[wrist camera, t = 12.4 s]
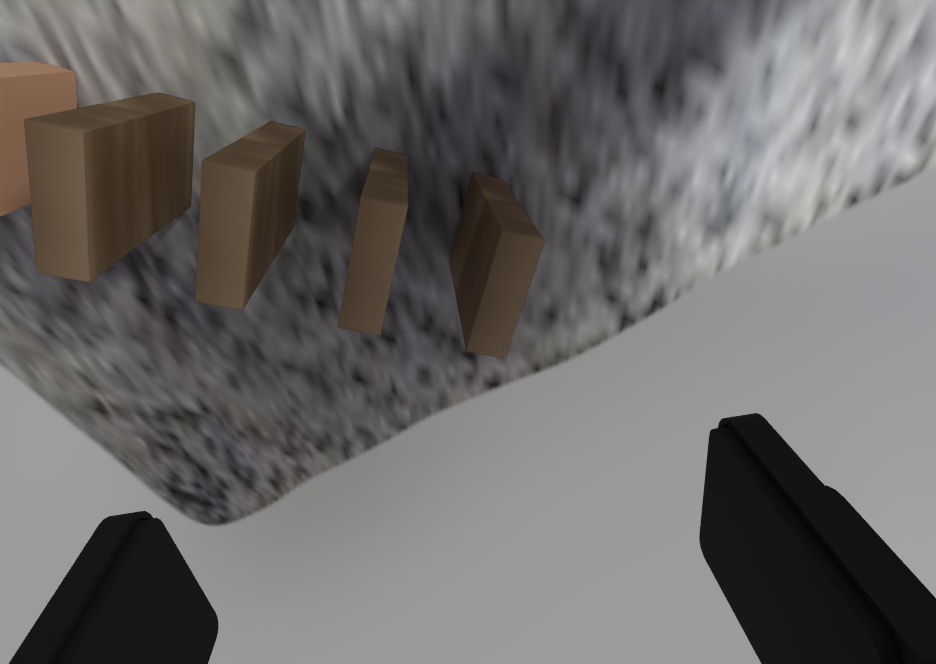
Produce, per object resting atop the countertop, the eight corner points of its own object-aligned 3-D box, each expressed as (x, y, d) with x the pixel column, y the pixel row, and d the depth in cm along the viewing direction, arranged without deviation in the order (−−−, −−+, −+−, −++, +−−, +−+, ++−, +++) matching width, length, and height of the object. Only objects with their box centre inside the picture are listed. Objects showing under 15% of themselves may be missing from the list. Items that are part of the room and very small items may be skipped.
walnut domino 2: (305, 129, 26) (255, 172, 18) (293, 228, 29) (242, 310, 20) (271, 121, 26) (202, 160, 17) (261, 221, 28) (195, 301, 20)
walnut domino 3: (407, 155, 28) (408, 207, 19) (388, 248, 30) (380, 335, 21) (375, 147, 27) (360, 196, 18) (358, 242, 29) (337, 327, 20)
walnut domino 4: (502, 179, 29) (544, 240, 20) (476, 267, 31) (504, 358, 22) (472, 172, 28) (502, 230, 19) (449, 261, 30) (466, 351, 22)
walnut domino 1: (195, 101, 25) (82, 133, 17) (190, 206, 28) (89, 282, 19) (158, 92, 25) (23, 118, 16) (156, 198, 27) (37, 272, 18)
